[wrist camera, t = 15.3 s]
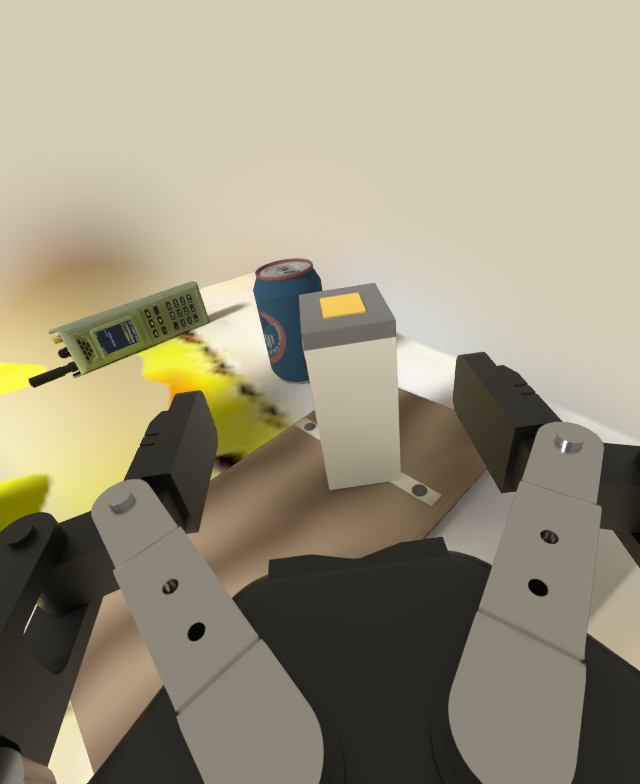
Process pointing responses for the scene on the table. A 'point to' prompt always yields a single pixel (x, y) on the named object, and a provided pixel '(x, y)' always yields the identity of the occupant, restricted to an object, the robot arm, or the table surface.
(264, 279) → the soda can
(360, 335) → the white tall block
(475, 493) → the table surface
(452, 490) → the subfloor panel
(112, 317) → the handheld radio
